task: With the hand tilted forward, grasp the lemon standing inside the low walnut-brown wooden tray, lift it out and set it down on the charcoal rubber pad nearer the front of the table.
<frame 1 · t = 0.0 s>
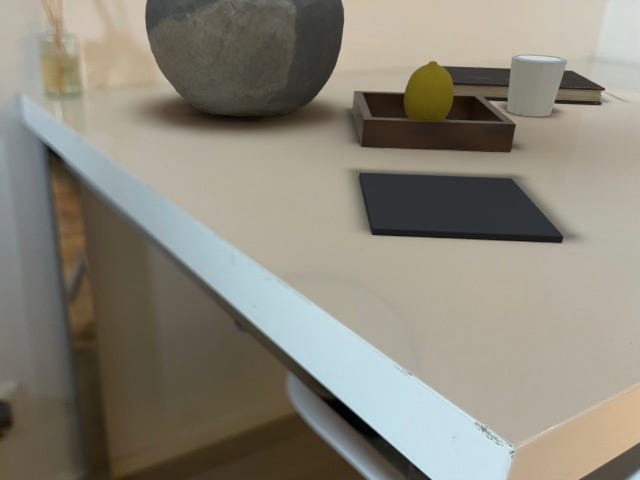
pad: (448, 206, 56), on the table
bowl: (244, 112, 87), on the table
lemon: (423, 133, 79), resting in tray
white cup: (528, 113, 89), on the table
tray: (423, 131, 79), on the table
hardcover book: (505, 92, 103), on the table
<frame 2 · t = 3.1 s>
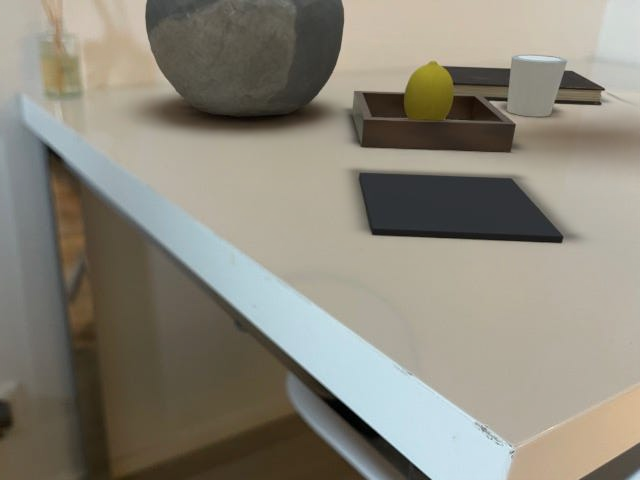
nothing on the table moved.
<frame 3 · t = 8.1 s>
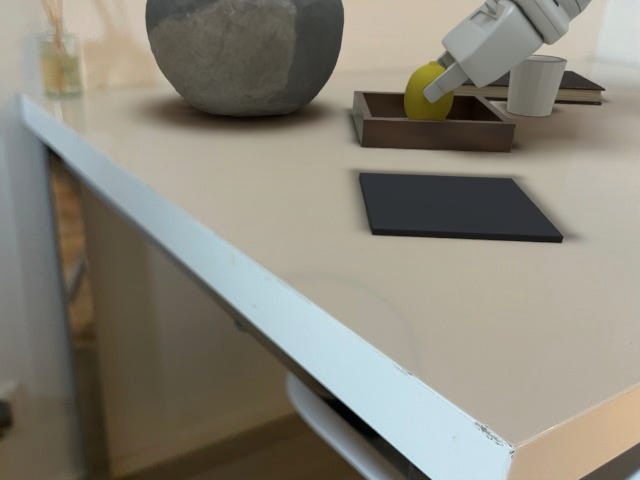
hand: (423, 91, 77), 5 cm above the table, tool tilted 45°, fingers closed on lemon, 5 cm apart
lemon: (423, 133, 79), resting in tray, touching gripper
everything else where it was.
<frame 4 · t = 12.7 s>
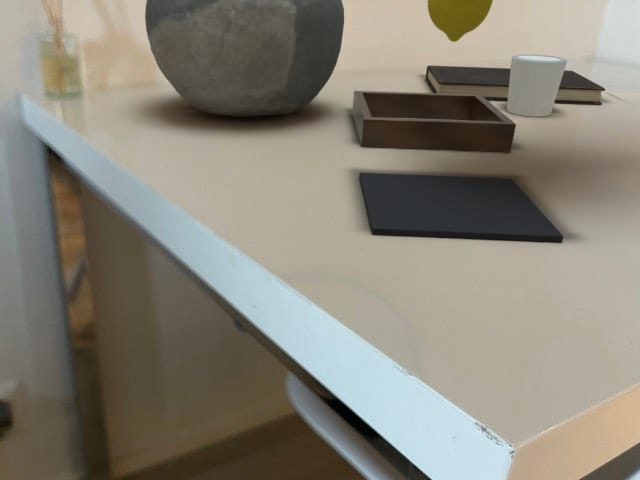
lemon: (453, 44, 60), point 12 cm above the table, touching gripper
everything else where it was.
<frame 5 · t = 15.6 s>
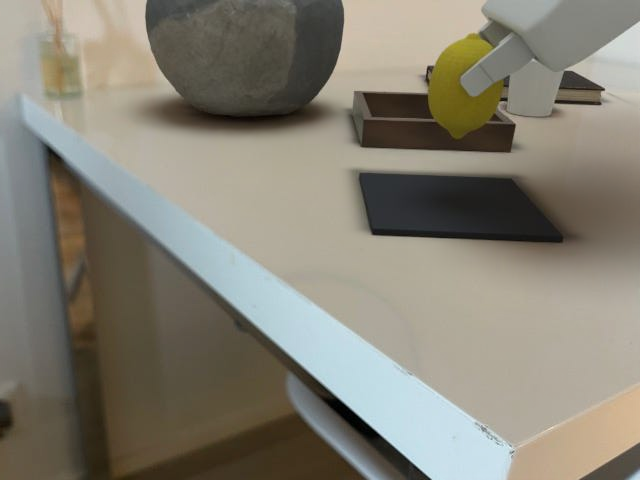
hand: (458, 80, 51), 10 cm above the table, tool tilted 45°, fingers closed on lemon, 5 cm apart
lemon: (456, 141, 53), point 5 cm above the table, touching gripper
everything else where it was.
when the fingers open (5 cm above the table, at t = 17.6 s): lemon stays where it is, resting on pad.
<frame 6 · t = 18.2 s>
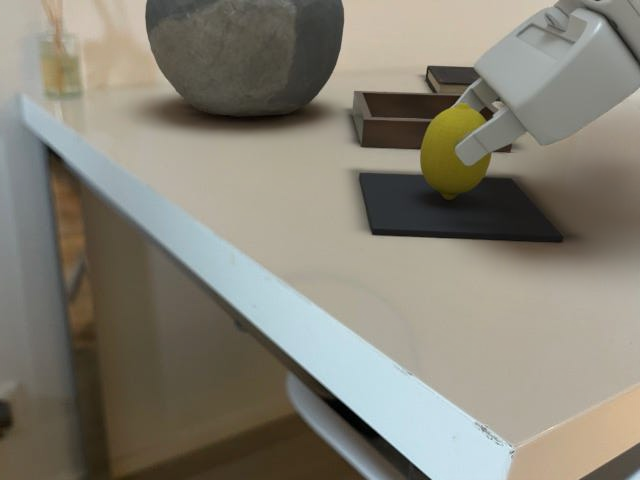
hand: (451, 140, 53), 6 cm above the table, tool tilted 45°, fingers open, 8 cm apart
lemon: (447, 201, 56), resting on pad
everything else where it was.
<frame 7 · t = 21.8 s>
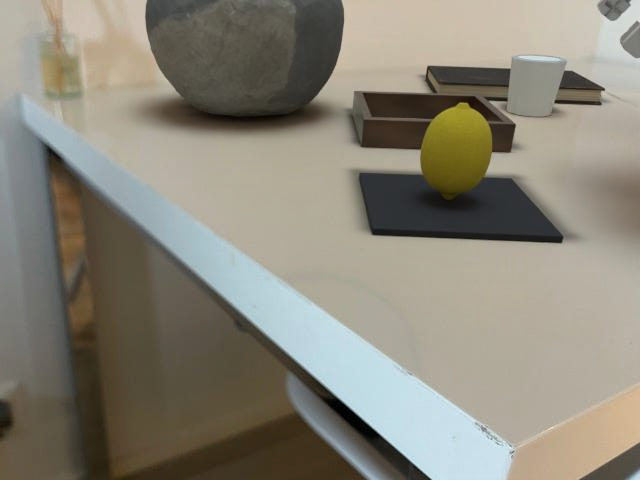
hand: (614, 31, 53), 14 cm above the table, tool tilted 35°, fingers open, 8 cm apart
nothing on the table moved.
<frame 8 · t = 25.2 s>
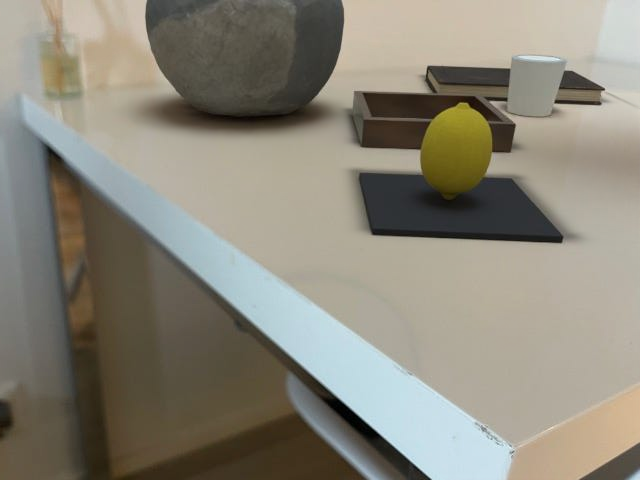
nothing on the table moved.
at the end: lemon inside the target area on the pad (0.2 cm from its centre), point 0.3 cm above the pad's base; lemon touching pad; the gripper is holding nothing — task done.
